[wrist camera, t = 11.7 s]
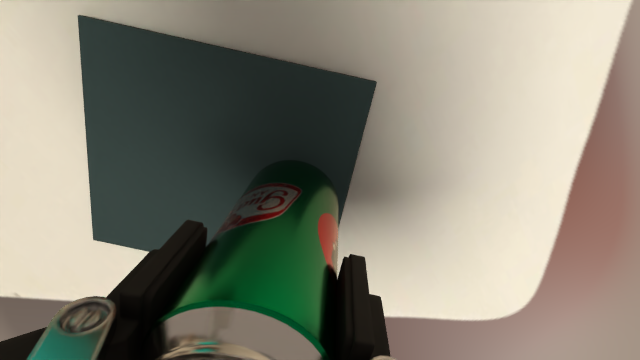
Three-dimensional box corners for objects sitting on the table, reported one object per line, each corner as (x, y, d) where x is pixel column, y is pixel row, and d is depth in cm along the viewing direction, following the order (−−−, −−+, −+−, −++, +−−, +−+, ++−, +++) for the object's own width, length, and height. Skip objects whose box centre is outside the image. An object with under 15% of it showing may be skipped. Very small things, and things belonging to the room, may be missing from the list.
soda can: (301, 138, 17) (226, 300, 6) (356, 208, 18) (379, 449, 7) (232, 189, 18) (65, 399, 7) (287, 251, 20) (218, 509, 9)
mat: (83, 15, 17) (77, 15, 17) (375, 81, 17) (376, 81, 17) (97, 236, 22) (93, 240, 22) (322, 284, 23) (322, 288, 22)
